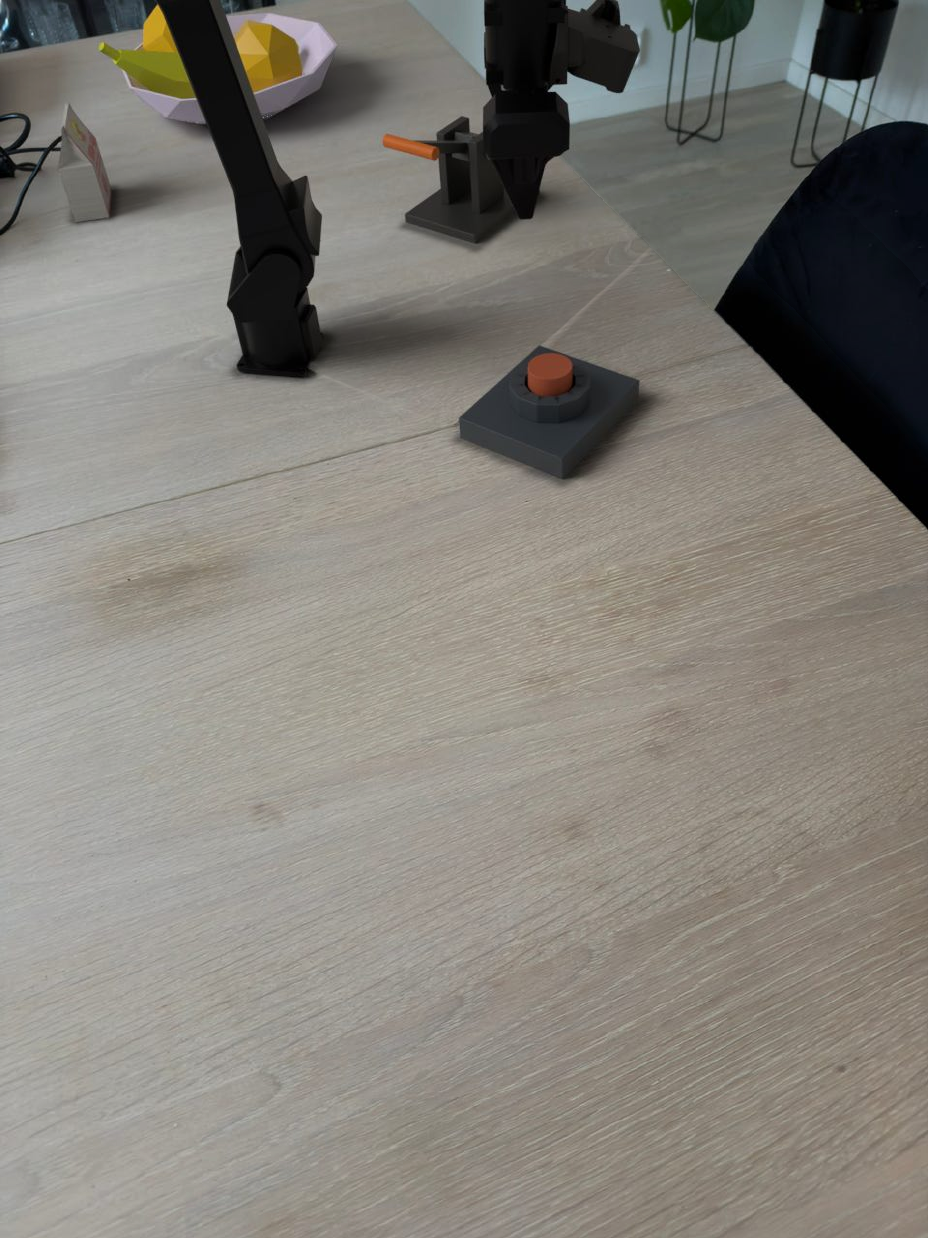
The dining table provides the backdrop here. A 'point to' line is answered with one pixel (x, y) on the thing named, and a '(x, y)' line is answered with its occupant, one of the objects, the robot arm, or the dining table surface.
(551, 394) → the button
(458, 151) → the switch lever
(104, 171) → the small milk carton
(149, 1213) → the dining table surface
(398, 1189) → the dining table surface
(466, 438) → the socket block
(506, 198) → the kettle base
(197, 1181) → the dining table surface
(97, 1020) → the dining table surface
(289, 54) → the fruit bowl
